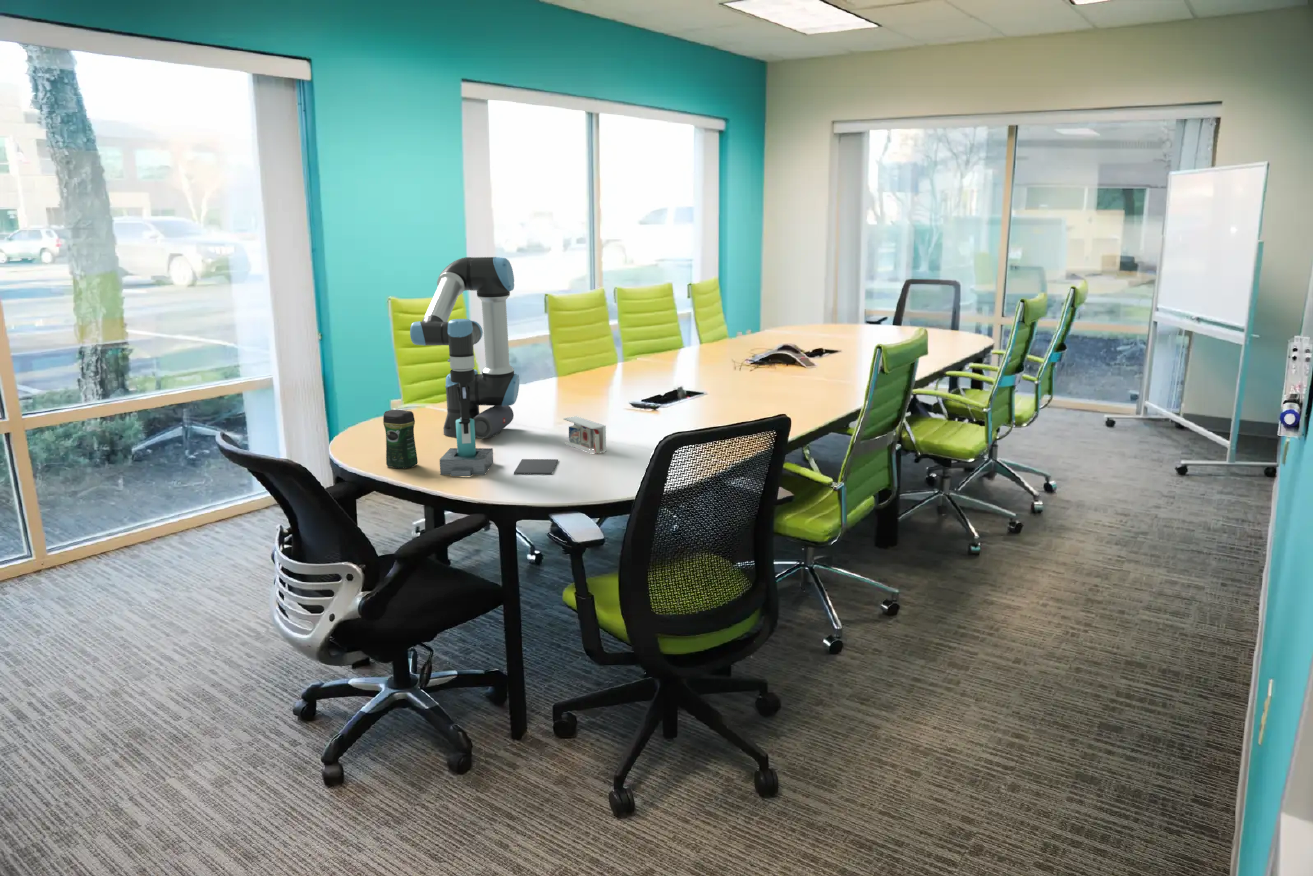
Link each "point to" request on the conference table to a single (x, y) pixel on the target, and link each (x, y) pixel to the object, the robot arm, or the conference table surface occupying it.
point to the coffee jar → (400, 439)
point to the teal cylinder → (466, 448)
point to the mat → (536, 466)
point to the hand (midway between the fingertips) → (466, 440)
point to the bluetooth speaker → (492, 421)
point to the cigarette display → (586, 435)
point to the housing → (466, 463)
